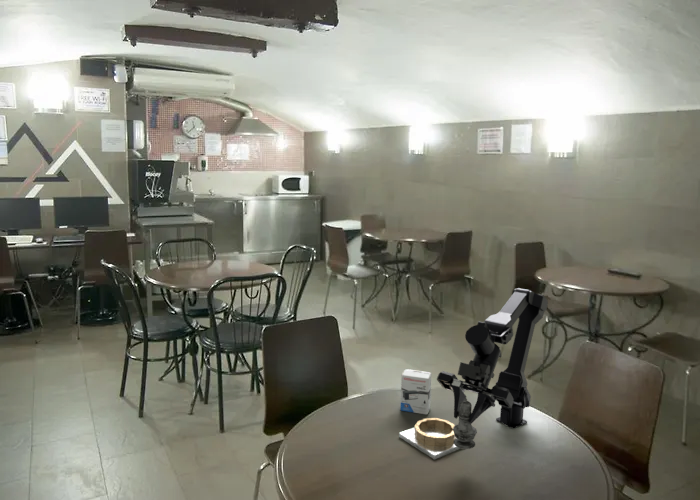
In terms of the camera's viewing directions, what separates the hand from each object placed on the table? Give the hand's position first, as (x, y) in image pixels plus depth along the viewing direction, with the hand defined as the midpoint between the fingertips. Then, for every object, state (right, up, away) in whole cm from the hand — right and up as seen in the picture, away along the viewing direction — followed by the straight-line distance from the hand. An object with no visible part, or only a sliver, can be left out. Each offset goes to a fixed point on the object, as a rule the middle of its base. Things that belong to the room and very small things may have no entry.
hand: (462, 420), depth 134 cm
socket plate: (-4, -11, +17) cm, 20 cm away
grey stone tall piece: (+1, -7, +2) cm, 7 cm away
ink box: (-7, -8, +35) cm, 36 cm away
